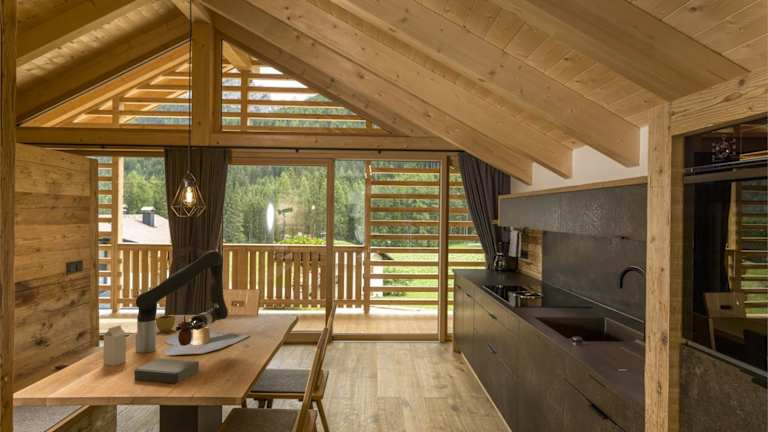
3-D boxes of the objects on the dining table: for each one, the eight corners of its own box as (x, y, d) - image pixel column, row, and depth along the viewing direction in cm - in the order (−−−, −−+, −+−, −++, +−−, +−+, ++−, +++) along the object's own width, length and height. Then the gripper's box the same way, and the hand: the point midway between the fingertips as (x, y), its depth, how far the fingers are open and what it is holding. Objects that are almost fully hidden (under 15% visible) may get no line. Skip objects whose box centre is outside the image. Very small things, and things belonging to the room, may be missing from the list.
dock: (134, 380, 216) (134, 369, 215) (159, 367, 232) (159, 358, 232) (176, 384, 211) (176, 373, 211) (198, 371, 228) (198, 361, 228)
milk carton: (125, 362, 241) (125, 325, 241) (113, 366, 234) (113, 329, 234) (115, 360, 243) (115, 324, 243) (103, 364, 237) (103, 327, 236)
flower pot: (167, 332, 298) (167, 319, 298) (155, 332, 300) (155, 318, 299) (175, 329, 306) (175, 315, 306) (164, 328, 308) (164, 315, 308)
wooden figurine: (181, 342, 234) (181, 313, 234) (193, 342, 235) (192, 313, 234) (176, 346, 227) (176, 316, 227) (189, 346, 228) (188, 316, 228)
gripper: (189, 313, 246) (168, 320, 229) (213, 314, 243) (194, 322, 227) (189, 327, 246) (168, 335, 229) (213, 328, 244) (194, 337, 227)
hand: (181, 329), depth 228 cm, fingers closed on wooden figurine, 4 cm apart
